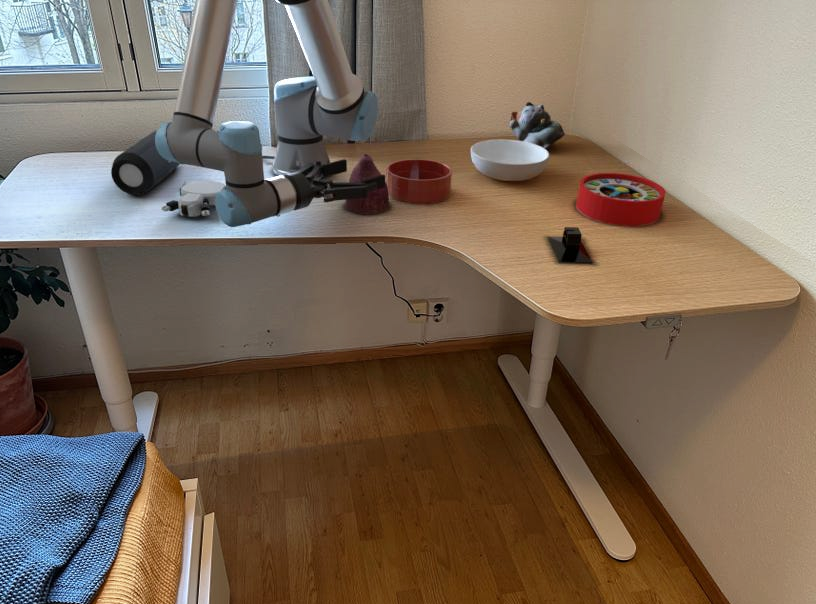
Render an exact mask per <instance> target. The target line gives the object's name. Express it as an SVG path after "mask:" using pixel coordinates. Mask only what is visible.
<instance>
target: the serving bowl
mask: <svg viewBox="0 0 816 604" xmlns="http://www.w3.org/2000/svg"><path fill="white" fill-rule="evenodd" d="M470 156H471V162H472V164H473V165H474V167H475V169H476V170H477V171H478V172H480V173H481V174H482V175H484V176H486V177H489V178H491V179H493V180H494V179H495V180H498V181H503V182H519V181H520V182H521V181H522V182H523V181H526V180H531V179H533V178H535V177H537V176H538V175H539V174H541V173H542V172H543V171H544V170H545V168H546V167H547V164H548V161H549V159H550V152H549V151H548V150H547V148H546V149H544V148H542V147H540V146H538V145H535V144H532V143H528V142H523V141H520V140H516V139H503V138H501V139H500V138H499V139H487V140H481V141H478V142H476V143H474V144H473V145H472V146H471V147H470Z"/></svg>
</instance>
